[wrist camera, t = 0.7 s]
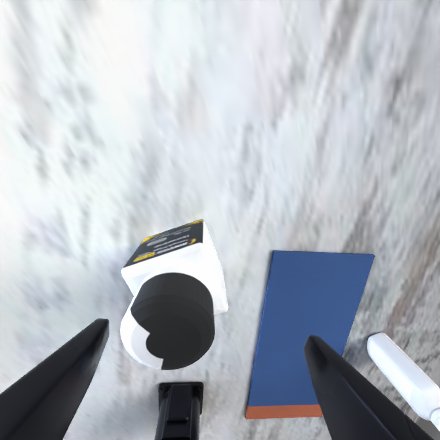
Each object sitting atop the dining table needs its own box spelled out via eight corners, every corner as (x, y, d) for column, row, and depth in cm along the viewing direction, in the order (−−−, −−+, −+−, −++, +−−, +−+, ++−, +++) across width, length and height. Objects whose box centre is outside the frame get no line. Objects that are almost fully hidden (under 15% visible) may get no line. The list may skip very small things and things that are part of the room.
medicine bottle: (203, 217, 23) (201, 278, 11) (223, 270, 25) (238, 366, 13) (143, 237, 23) (82, 317, 12) (168, 288, 25) (137, 397, 14)
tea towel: (320, 413, 34) (321, 416, 34) (245, 416, 33) (245, 419, 33) (372, 254, 26) (375, 255, 25) (272, 250, 25) (274, 251, 24)
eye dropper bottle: (357, 358, 31) (446, 476, 20) (370, 330, 30) (474, 439, 18) (383, 360, 32) (484, 475, 20) (397, 331, 30) (515, 439, 19)
